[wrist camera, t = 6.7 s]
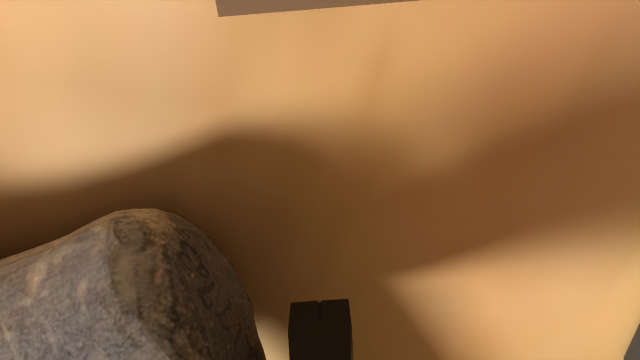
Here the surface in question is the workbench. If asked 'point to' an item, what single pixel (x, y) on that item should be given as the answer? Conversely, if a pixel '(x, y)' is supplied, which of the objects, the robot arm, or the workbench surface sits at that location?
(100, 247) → the pipe
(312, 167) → the workbench surface
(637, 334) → the strip
